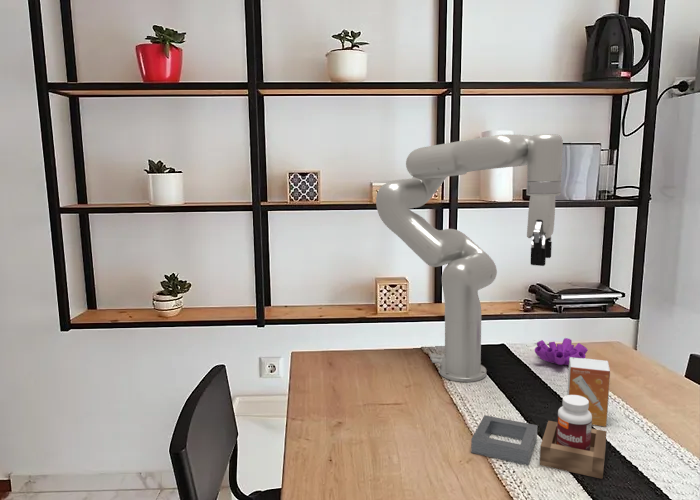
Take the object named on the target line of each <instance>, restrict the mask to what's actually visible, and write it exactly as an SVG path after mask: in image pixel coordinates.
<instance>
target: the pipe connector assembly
mask: <svg viewBox="0 0 700 500" xmlns="http://www.w3.org/2000/svg"><path fill="white" fill-rule="evenodd" d="M572 341H573V340H572V339H571V338H568V337H567V338H566V337H565V338H563V341H562V343H557V344H556V341H549V342H548V344H546V342H545V341H544V340H543V339H541V340H539V341H537V342H536V347H535V348H534V353H535V354H536V356H537V357H538V358H539V359H541V360H542V361H545V362H547V363H551V364H557V365H559V366H562V365H564V366H569V357H573V358H586V354H587V353H588V350H589V349H588V348H587V347H586V346H584V345H583V344H581V343H580V342H578V343H577V344H576V345H574V344H573V343H572Z"/></svg>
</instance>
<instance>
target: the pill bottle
mask: <svg viewBox="0 0 700 500" xmlns="http://www.w3.org/2000/svg"><path fill="white" fill-rule="evenodd" d="M561 404H562V405H561V406H560V407H559V408H558V410H557V420H556V422H557V437H556V444H557V445H562V446H567V447H572V448H577V449H582V450H587V451H590V442H591V429H592V415H591V413H590V411H589V410H588V408H589V401H588V400H587V399H586V398H585V397H582V396H579V395H567V394H566V395H564V396H563V397H562V403H561Z"/></svg>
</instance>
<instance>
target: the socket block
mask: <svg viewBox="0 0 700 500" xmlns="http://www.w3.org/2000/svg"><path fill="white" fill-rule="evenodd" d="M491 433H492V434H491ZM496 434H497V435H496ZM491 435H496V436H501V435H502V436H501V437H506V438H510V437H511V438H510V439H515V438H517V439H516V440H520V439H521V442H520V443H516V442H511V441H506V440H500V439H496V438H492V437H490V436H491ZM537 439H538V425H537V424H532V423H527V422H522V421H516V420H512V419H506V418H502V417H501V418H500V417H496V416H491V415H486V414H484V416H483V418H482V419H481V421H480V422H479V424H478V426H477V428H476V430H475V432H474V433H473V435H472V437H471V443H470V444H471V447H470V448H471V450H470V452H471V454H476V455H479V456H484V457H489V458H493V459H497V458H498V459H497V460H503V461H506V460H507V461H506V462H511V463H516V464H520V465H524V464H526V465H525V466H529V463H530V461H531V458H532V455H533V451H534V448H535V445H536V443H537Z"/></svg>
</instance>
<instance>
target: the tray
mask: <svg viewBox="0 0 700 500" xmlns="http://www.w3.org/2000/svg"><path fill="white" fill-rule="evenodd" d="M607 433H608V432H607V431H606V430H601V429H596V428H591V442H590V451H587V450H582V449H577V448H572V447H567V446H562V445H557V444H556V437H557V421H552V420H547V424H546V427H545V430H544V433H543V436H542V439H541V442H540V446H539V447H540V448H539V450H540V451H539V466H543V467H546V468H551V469H555V468H556V470H560V471H564V472H570V473H574V474H577V475H584V476H588V477H593V478H595V479H596V478H597V479H601V480H603V477H604V467H605V458H606V448H607V446H606V445H607V444H606V443H607Z"/></svg>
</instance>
